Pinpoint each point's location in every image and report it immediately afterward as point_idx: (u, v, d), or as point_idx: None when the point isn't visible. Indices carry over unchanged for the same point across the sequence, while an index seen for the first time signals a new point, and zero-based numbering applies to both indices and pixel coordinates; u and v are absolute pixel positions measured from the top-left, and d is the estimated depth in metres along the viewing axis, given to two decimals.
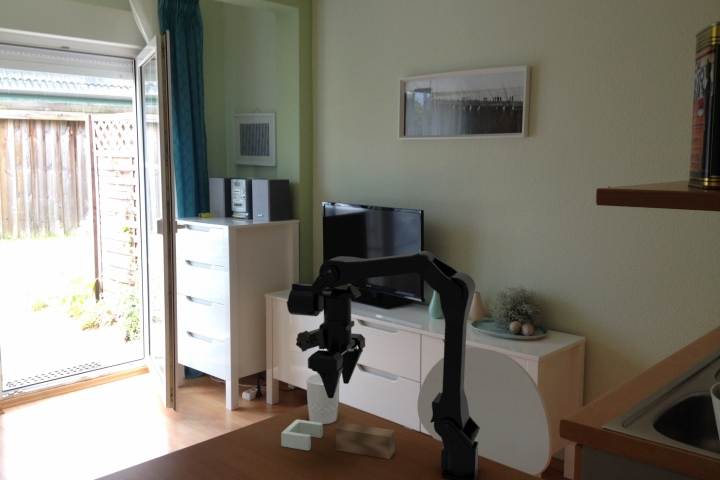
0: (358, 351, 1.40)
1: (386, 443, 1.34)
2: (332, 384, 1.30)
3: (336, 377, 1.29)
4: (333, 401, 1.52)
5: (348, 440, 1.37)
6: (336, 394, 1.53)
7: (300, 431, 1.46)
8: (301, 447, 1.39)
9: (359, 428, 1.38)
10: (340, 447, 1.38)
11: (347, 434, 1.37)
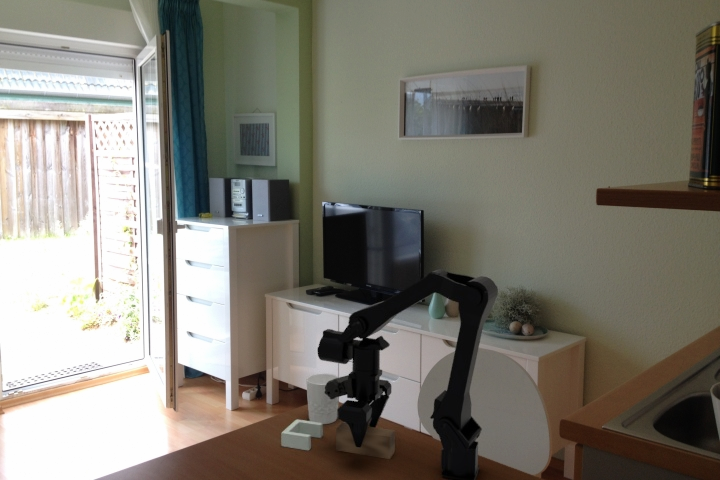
0: (385, 398, 1.42)
1: (387, 443, 1.34)
2: (361, 434, 1.32)
3: (365, 428, 1.31)
4: (333, 401, 1.52)
5: (348, 440, 1.37)
6: None
7: (300, 431, 1.46)
8: (301, 447, 1.39)
9: None
10: (340, 447, 1.38)
11: (347, 434, 1.37)
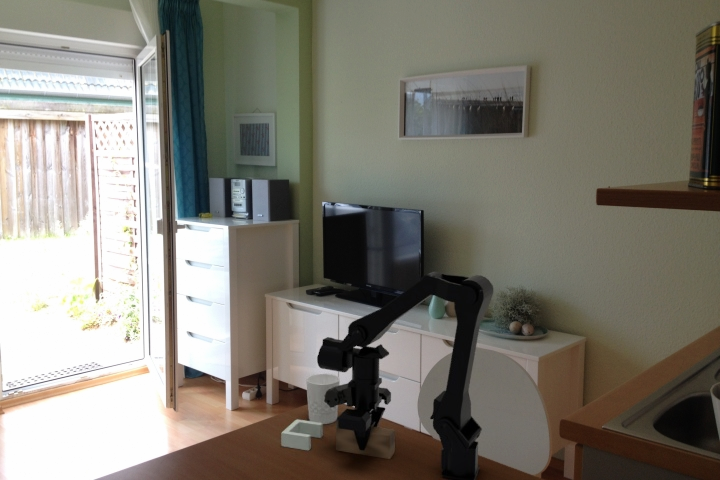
0: (381, 410, 1.40)
1: (387, 442, 1.34)
2: (364, 437, 1.34)
3: (368, 431, 1.33)
4: None
5: (348, 439, 1.37)
6: None
7: (300, 431, 1.46)
8: (301, 447, 1.39)
9: None
10: (340, 447, 1.38)
11: (347, 433, 1.37)
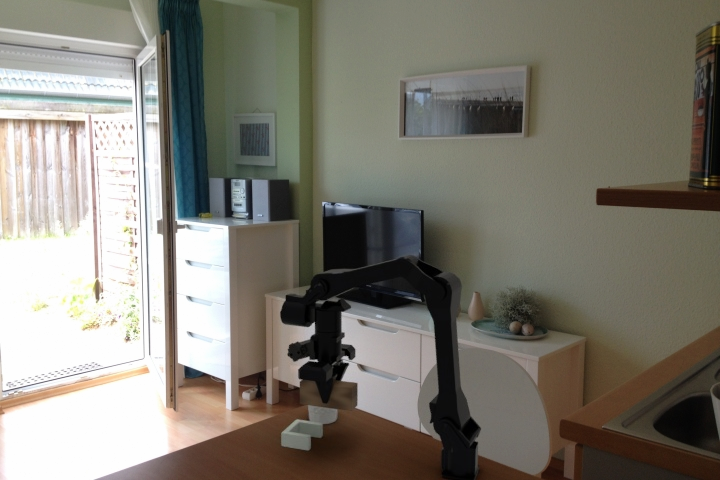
0: (344, 365, 1.41)
1: (349, 395, 1.36)
2: (327, 390, 1.36)
3: (330, 383, 1.35)
4: None
5: (312, 393, 1.39)
6: None
7: (300, 431, 1.46)
8: (301, 447, 1.39)
9: None
10: (304, 400, 1.40)
11: (310, 386, 1.39)
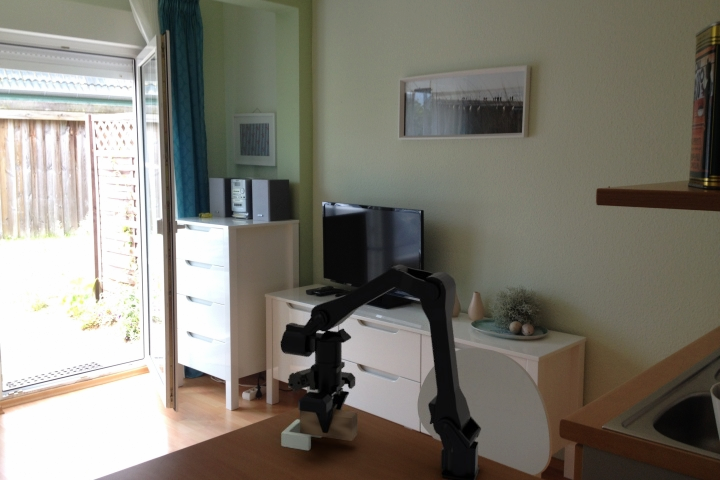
0: (344, 394, 1.42)
1: (349, 424, 1.37)
2: (327, 420, 1.37)
3: (330, 414, 1.36)
4: None
5: (312, 422, 1.40)
6: None
7: None
8: (301, 447, 1.39)
9: None
10: (304, 430, 1.40)
11: (311, 416, 1.40)
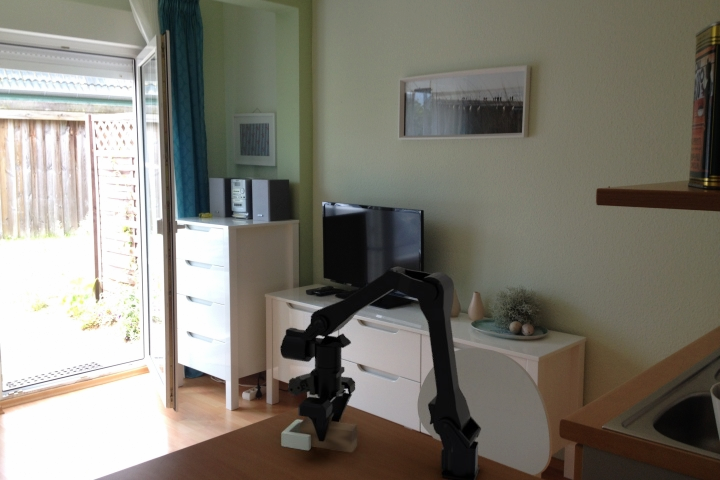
0: (347, 396, 1.44)
1: (349, 437, 1.37)
2: (323, 428, 1.35)
3: (327, 422, 1.34)
4: None
5: (312, 434, 1.40)
6: None
7: None
8: (301, 447, 1.39)
9: None
10: None
11: (311, 428, 1.40)
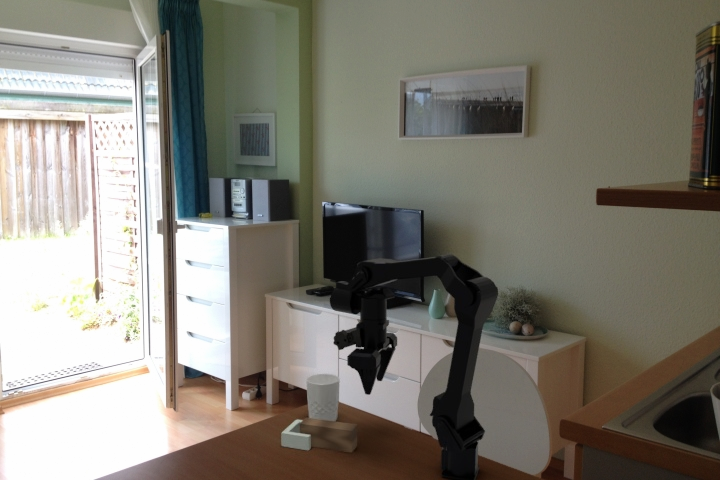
0: (391, 349, 1.46)
1: (349, 437, 1.37)
2: (370, 381, 1.35)
3: (374, 374, 1.34)
4: (333, 401, 1.52)
5: (311, 434, 1.40)
6: (336, 394, 1.53)
7: None
8: (301, 447, 1.39)
9: (322, 423, 1.41)
10: None
11: (310, 428, 1.40)
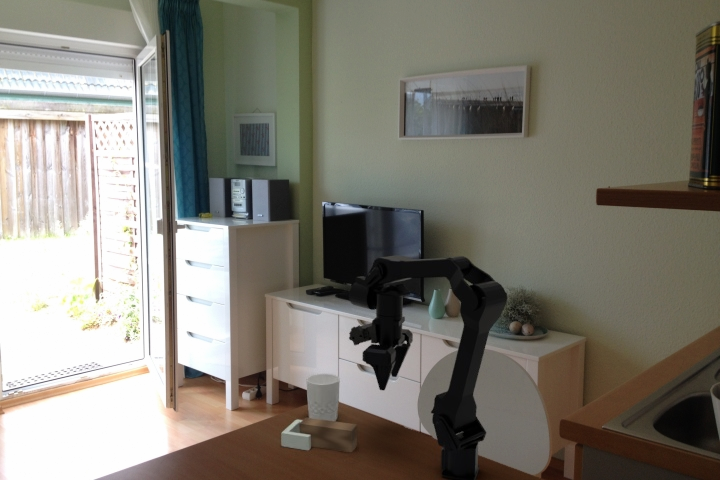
0: (406, 346, 1.46)
1: (348, 437, 1.37)
2: (385, 376, 1.36)
3: (389, 370, 1.35)
4: (333, 401, 1.52)
5: (311, 434, 1.40)
6: (336, 394, 1.53)
7: None
8: (301, 447, 1.39)
9: (322, 423, 1.41)
10: None
11: (310, 428, 1.40)
